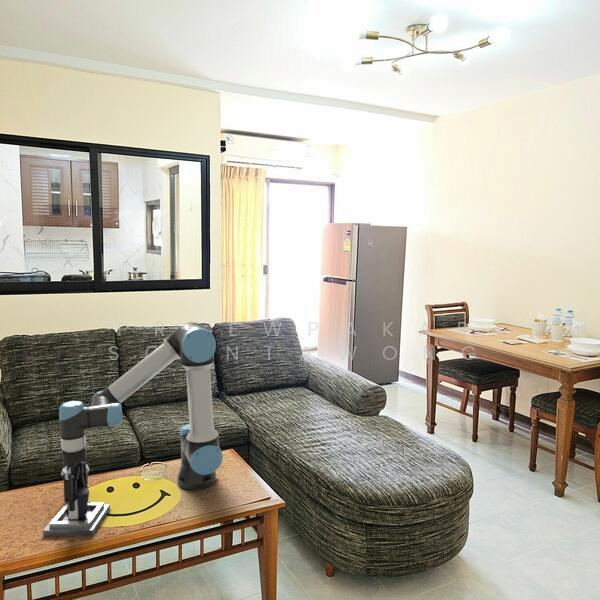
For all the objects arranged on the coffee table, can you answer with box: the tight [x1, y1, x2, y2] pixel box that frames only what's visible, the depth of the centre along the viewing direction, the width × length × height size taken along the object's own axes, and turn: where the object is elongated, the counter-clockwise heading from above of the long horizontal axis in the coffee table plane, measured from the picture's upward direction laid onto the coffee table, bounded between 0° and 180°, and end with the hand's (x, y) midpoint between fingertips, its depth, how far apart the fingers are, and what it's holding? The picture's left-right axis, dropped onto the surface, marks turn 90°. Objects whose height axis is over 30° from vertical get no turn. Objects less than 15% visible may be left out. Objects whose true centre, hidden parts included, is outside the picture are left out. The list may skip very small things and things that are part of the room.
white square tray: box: [42, 502, 111, 537], centre depth 174 cm, size 16×16×4 cm
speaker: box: [67, 487, 90, 517], centre depth 173 cm, size 8×6×10 cm
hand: (77, 513), depth 173 cm, fingers closed on speaker, 6 cm apart
